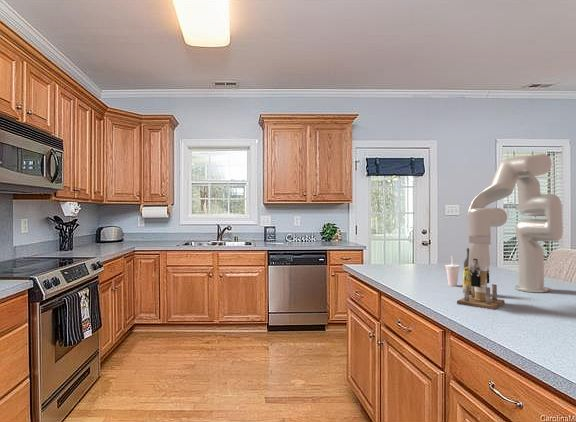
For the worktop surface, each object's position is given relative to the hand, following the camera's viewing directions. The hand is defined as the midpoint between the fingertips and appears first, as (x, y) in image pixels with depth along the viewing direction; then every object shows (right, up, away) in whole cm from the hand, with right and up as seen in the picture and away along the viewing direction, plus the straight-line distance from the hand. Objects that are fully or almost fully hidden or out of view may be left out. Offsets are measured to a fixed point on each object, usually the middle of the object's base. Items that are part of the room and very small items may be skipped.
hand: (480, 284), depth 147 cm
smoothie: (+5, -8, +36) cm, 37 cm away
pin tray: (0, -7, 0) cm, 7 cm away
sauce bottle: (+5, -8, +18) cm, 20 cm away
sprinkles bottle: (0, -6, 0) cm, 6 cm away
